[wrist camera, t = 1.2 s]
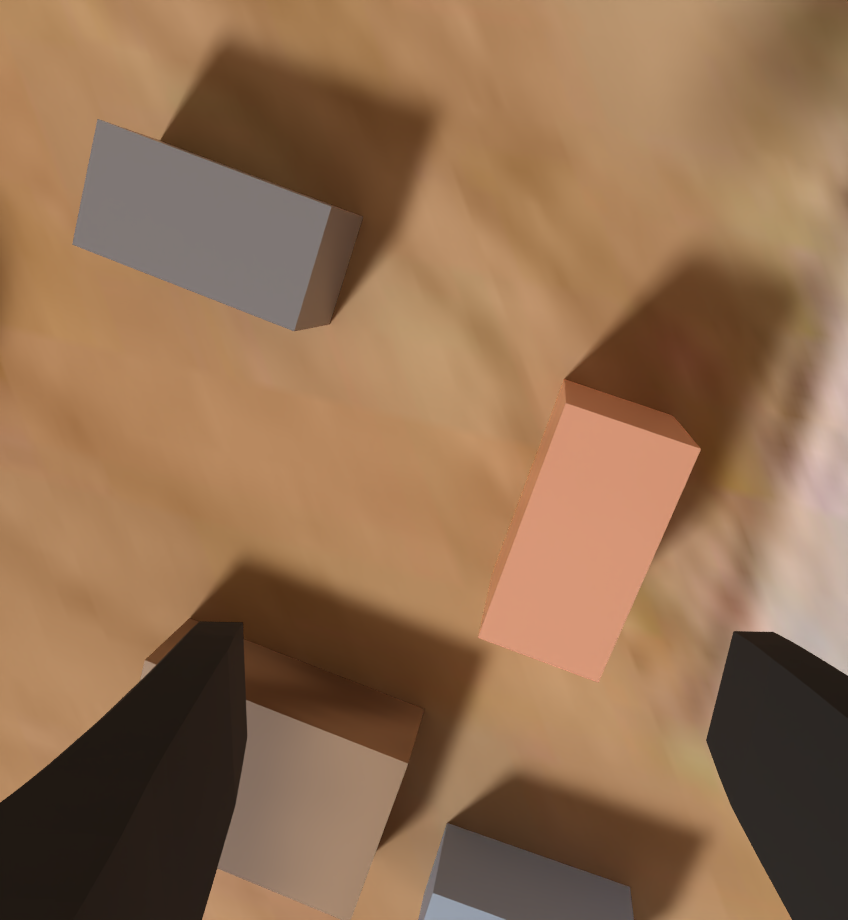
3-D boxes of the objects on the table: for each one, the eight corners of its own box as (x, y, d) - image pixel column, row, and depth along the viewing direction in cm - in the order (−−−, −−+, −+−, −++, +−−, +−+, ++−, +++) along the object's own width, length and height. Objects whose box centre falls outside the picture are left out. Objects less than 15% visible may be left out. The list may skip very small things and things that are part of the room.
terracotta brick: (672, 415, 19) (701, 449, 15) (591, 608, 21) (598, 682, 17) (564, 378, 20) (565, 403, 16) (492, 572, 21) (477, 637, 17)
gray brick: (364, 217, 20) (331, 206, 17) (331, 323, 20) (293, 331, 17) (163, 141, 20) (97, 119, 17) (139, 249, 21) (72, 244, 18)
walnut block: (426, 703, 23) (408, 763, 20) (373, 848, 25) (349, 922, 22) (194, 613, 24) (145, 660, 21) (158, 760, 25) (107, 822, 22)
